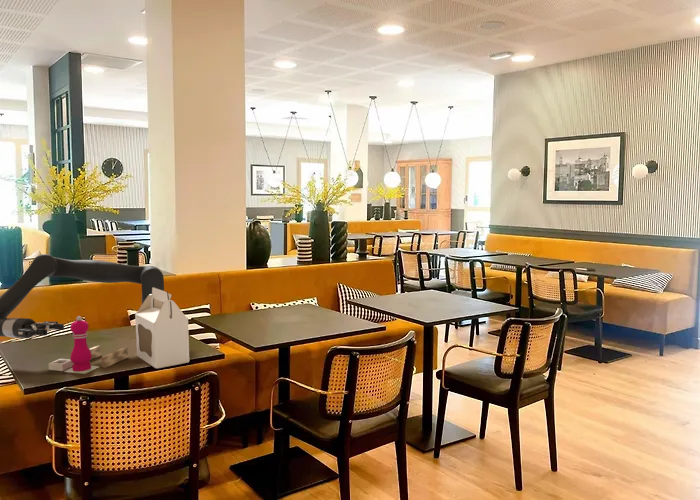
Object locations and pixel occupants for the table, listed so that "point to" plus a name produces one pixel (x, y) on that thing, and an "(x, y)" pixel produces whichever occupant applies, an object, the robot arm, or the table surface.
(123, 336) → the table surface
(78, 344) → the pepper mill
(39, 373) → the table surface
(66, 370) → the sage pad
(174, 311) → the gable box
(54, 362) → the box
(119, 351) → the oak channel
